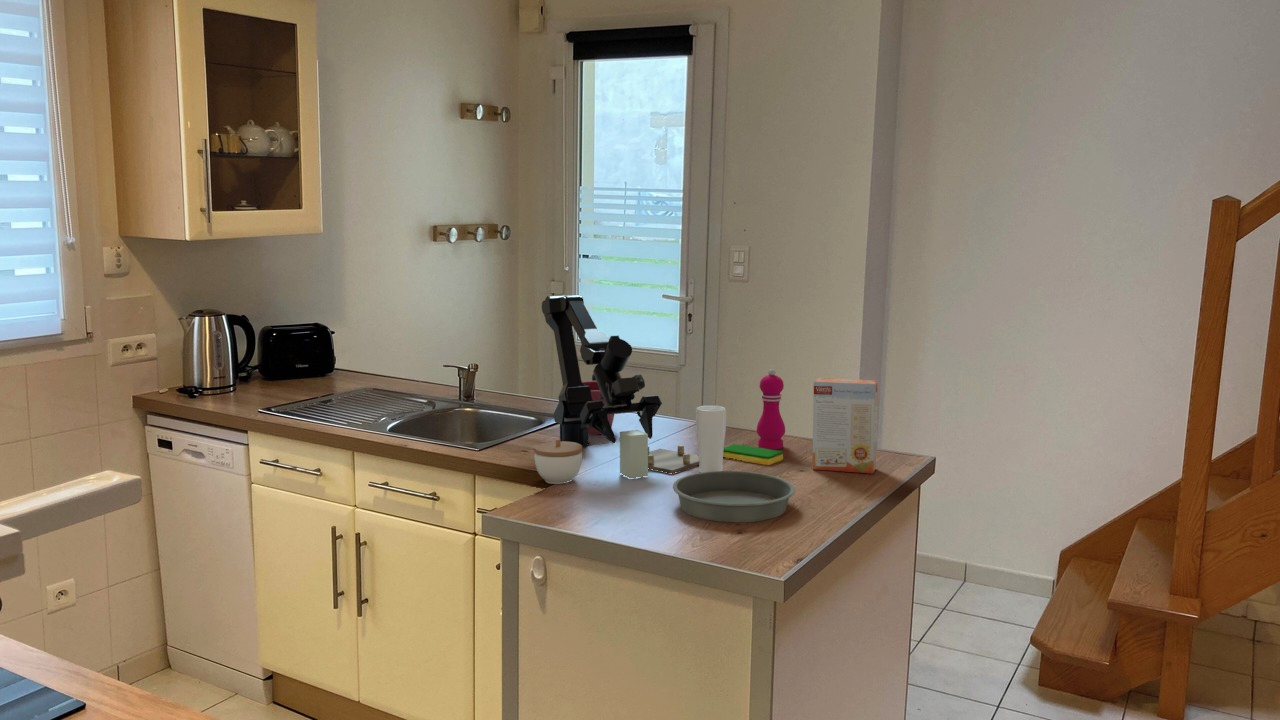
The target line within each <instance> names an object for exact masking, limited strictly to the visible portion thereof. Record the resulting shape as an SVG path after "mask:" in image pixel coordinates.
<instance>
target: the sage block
mask: <svg viewBox="0 0 1280 720" xmlns="http://www.w3.org/2000/svg"><path fill="white" fill-rule="evenodd" d="M648 447H649V438H648V434H647V433H645V431H644V432H643V431H642V430H639V429H631V430H624V431H619V474H620V473H622V474H623V475H625V476H627V477H629V478H636V477H643V476H648V477H649V470H648Z"/></svg>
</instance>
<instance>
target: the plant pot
mask: <svg viewBox="0 0 1280 720" xmlns="http://www.w3.org/2000/svg"><path fill="white" fill-rule="evenodd" d="M582 382H583V384H584V385H585V386H589V387H590V389H591V396H592V400H593V401H599V400H600V401H603V404H604V406H606V404H605V402H604V399H602V400H601V399H600V394H601V391H600V389H599V386H598V384H597V381H592V380H585V381H582ZM607 416H608V421H609V423H610V425H611V428H612V427H613V423H614V418H615V414H607ZM587 428H588V434H589V435H590V436H598V434H601V435H603V434H602V433H600V432H599V431H597V430H596V429H594V428H593V427H589V426H588V425H587ZM612 429H613V428H612ZM589 435H588V436H589Z"/></svg>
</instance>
